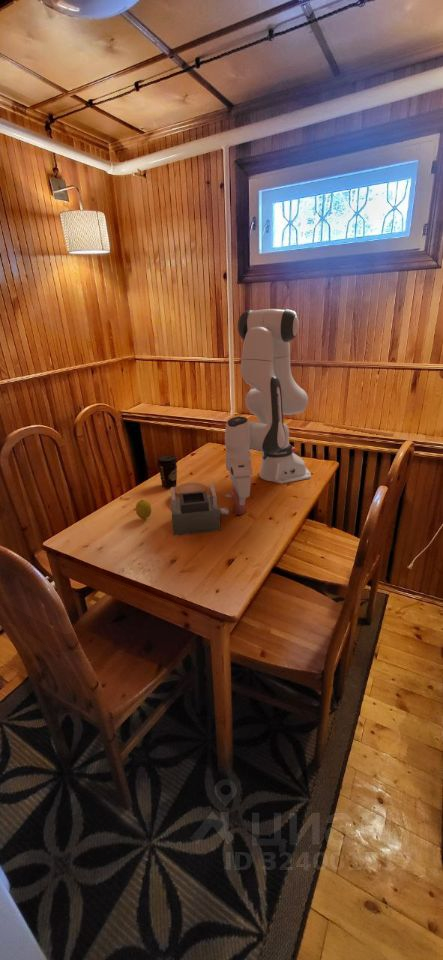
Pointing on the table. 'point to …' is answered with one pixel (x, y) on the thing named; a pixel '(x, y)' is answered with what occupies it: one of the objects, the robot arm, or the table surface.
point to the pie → (190, 488)
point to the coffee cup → (168, 471)
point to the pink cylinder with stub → (237, 503)
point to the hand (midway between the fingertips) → (239, 498)
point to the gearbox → (195, 512)
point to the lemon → (143, 509)
